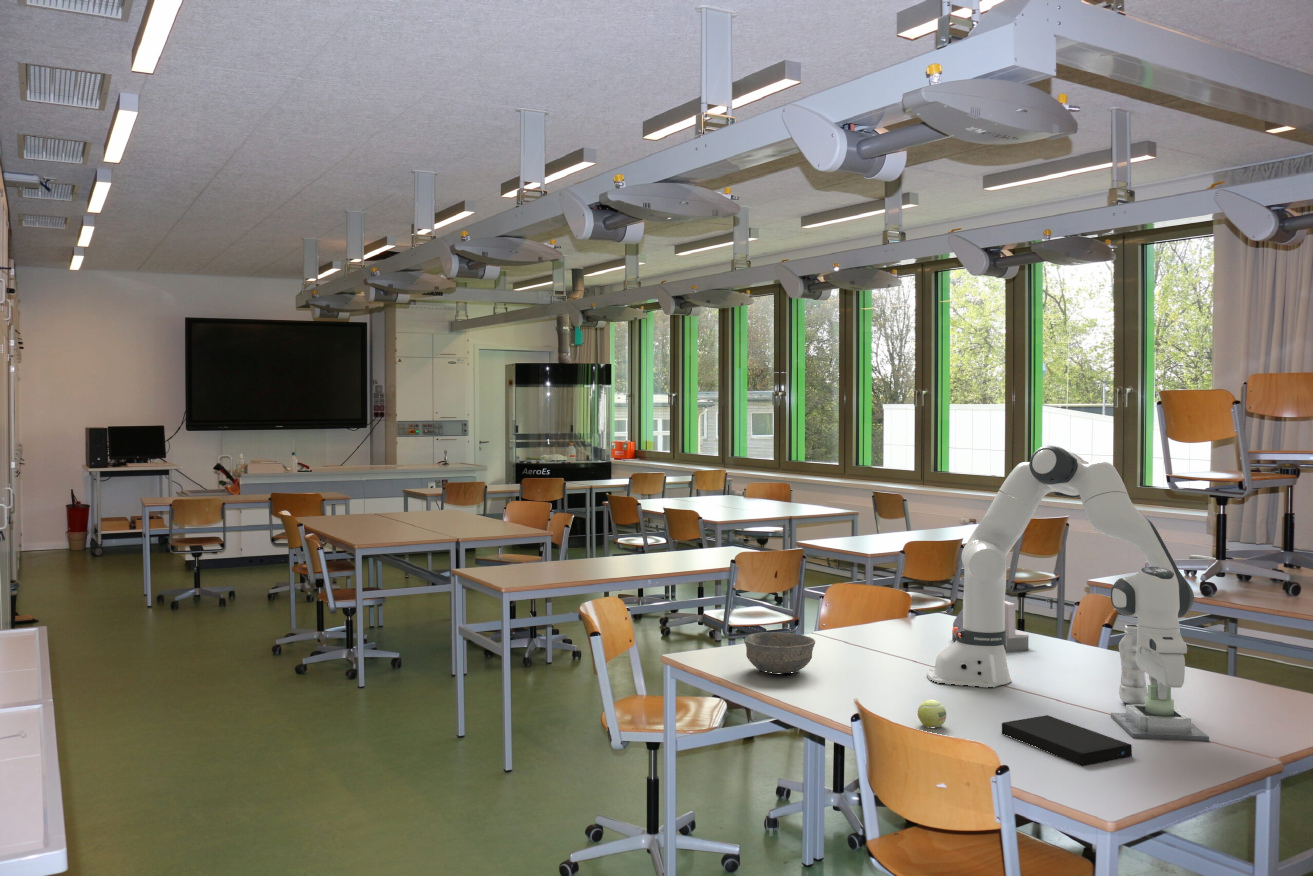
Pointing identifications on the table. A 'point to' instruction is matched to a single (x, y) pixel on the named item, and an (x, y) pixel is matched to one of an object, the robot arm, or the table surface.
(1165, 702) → the stepped sage green block
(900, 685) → the table surface
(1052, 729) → the external hard drive
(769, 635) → the bowl
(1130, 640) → the plastic bottle
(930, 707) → the tennis ball
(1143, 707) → the cap socket
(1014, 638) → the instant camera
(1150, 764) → the table surface
